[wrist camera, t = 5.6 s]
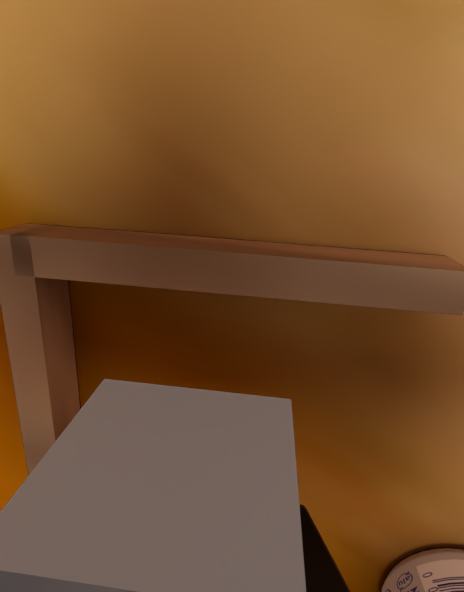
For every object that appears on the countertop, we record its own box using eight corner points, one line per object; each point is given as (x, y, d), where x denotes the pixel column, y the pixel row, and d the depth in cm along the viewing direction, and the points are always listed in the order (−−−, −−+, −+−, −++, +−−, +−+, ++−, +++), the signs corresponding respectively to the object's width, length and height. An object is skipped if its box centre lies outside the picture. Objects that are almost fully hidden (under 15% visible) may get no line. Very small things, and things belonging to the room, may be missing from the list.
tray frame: (349, 625, 17) (358, 675, 16) (73, 583, 18) (52, 626, 17) (444, 255, 11) (474, 272, 10) (28, 223, 12) (-11, 233, 11)
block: (272, 538, 9) (273, 799, 5) (113, 516, 9) (8, 748, 6) (291, 398, 8) (308, 616, 4) (104, 378, 8) (-41, 564, 4)
